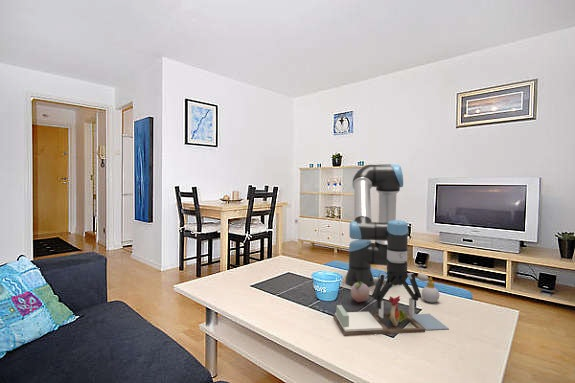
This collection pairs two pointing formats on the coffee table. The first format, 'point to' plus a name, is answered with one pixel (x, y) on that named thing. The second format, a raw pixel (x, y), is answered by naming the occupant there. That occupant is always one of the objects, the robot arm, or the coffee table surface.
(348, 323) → the sliding cover
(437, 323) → the slate mat
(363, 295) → the decorative fruit
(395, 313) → the bird rattle
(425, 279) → the perfume bottle
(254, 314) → the coffee table surface
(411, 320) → the puzzle board
